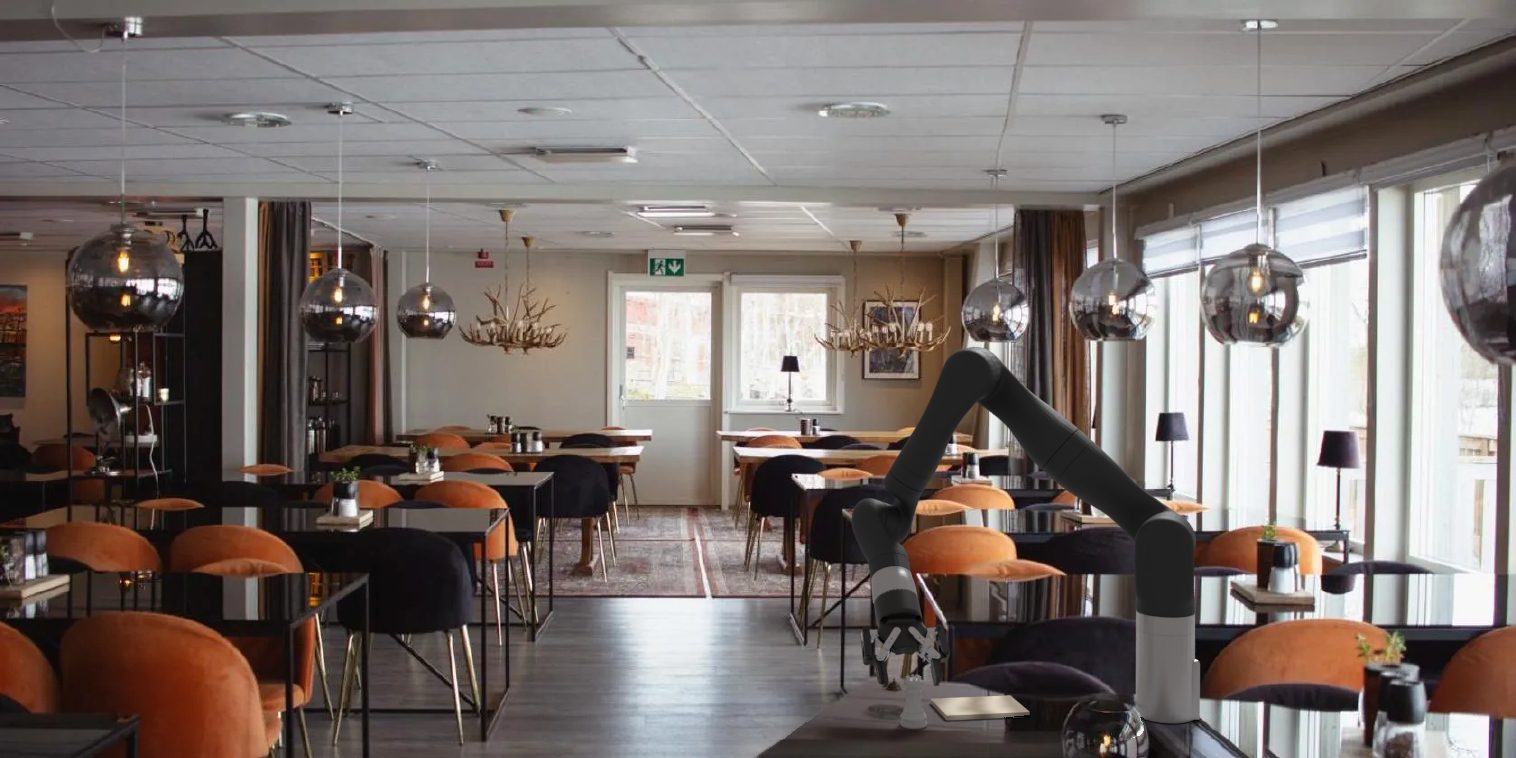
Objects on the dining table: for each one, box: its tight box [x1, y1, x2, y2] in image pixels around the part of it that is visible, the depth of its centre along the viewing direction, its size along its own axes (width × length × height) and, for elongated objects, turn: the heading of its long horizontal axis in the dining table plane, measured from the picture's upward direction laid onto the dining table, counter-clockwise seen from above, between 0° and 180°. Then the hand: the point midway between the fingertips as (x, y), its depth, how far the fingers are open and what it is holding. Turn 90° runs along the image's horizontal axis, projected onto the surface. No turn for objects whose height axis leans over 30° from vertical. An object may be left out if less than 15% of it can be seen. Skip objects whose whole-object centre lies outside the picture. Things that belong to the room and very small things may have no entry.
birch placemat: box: [930, 695, 1030, 721], centre depth 217 cm, size 14×10×1 cm
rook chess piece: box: [899, 674, 928, 730], centre depth 209 cm, size 4×4×8 cm
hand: (911, 684), depth 210 cm, fingers open, 8 cm apart
